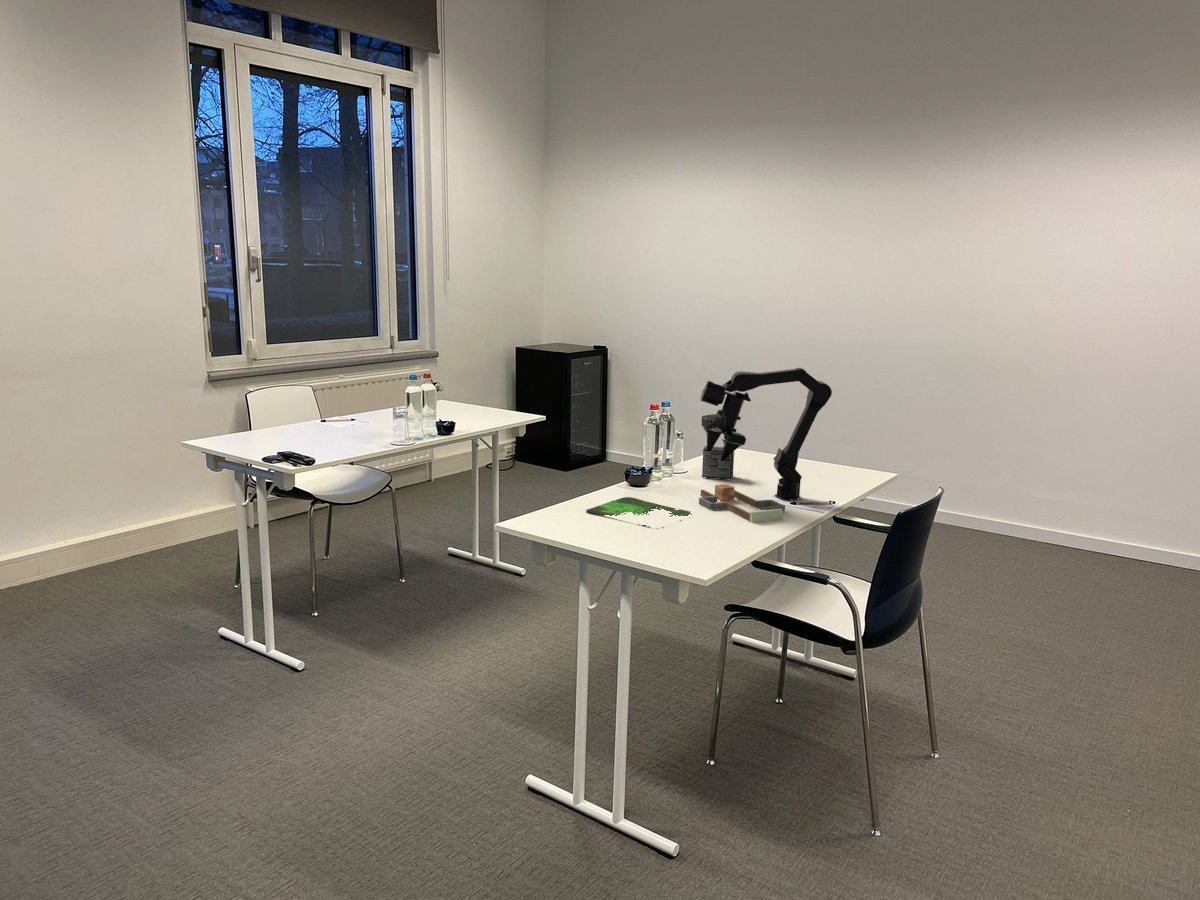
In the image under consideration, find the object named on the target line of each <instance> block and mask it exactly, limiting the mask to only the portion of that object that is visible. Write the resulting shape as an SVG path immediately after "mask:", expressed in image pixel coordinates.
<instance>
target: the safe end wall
mask: <svg viewBox="0 0 1200 900" xmlns="http://www.w3.org/2000/svg"><path fill="white" fill-rule="evenodd" d="M782 512H783V509H772V510H762V509H761V510H753V511H750V512H749V513H750V521H749V522H750V523H757V522H758V523H759V522H768V521H769V522H771V521H777V520H783V513H784V512H783V513H782Z"/></svg>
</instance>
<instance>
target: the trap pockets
mask: <svg viewBox="0 0 1200 900" xmlns="http://www.w3.org/2000/svg"><path fill="white" fill-rule="evenodd" d="M714 499H715V497H714V496H709V497H702V496H700V497H698V505H700V506H702V507H703V506H704V507H703V508H705V507H706V508H705V509H707V510H709V511H711V509H713V511H717V510H716V509H719V510H727V509H726V502H727V501H725V502H721V501H719V502H718V501H717V503H715V502H714ZM758 501H759V506H758V508H757V509H760V510H761V511H762V510H766V509H767V507H771V508H773V509H783V512H782V514H783V513H785V512H786V511H785V510H786V505H785V504H782V503H780V502H778V501H776V500H774V499H762V500H761V499H760V500H759V499H758Z"/></svg>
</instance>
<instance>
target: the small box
mask: <svg viewBox="0 0 1200 900" xmlns="http://www.w3.org/2000/svg"><path fill="white" fill-rule="evenodd" d="M723 447H724V446H723ZM723 447H722V446H714V447H713V448H712V450H711V451H710V452H707V445H705V446H704V447H703V449H702V471H701V478H702V477H706V478H705V479H711V478H719V479H718V480H725V479H732V480H733V477H734V465H735V464H734V463H735V462H734V461H735V460H734V459H735V451H733V452H732V453H731V454H730V455H729V456H728V457H727V458H726V459H725V460H724V461H721V455H722V451H723Z"/></svg>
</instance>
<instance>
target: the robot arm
mask: <svg viewBox="0 0 1200 900" xmlns="http://www.w3.org/2000/svg"><path fill="white" fill-rule="evenodd" d="M795 382H799V383H800V384H801V385H803V386H804V387H806V389H808V391H807V395H806V402H805V406H804V409H803V410H802V413H801V415H800V417H799V420H798V421H797V424H796V425H795V427H794V430H793V431H792V434H791V436H790V438H789V440H788V442H787V444H786V445H785V447H784V448H783V449H782V448H778V449H777V452H776V455H775V457H773V458H772V459H773V460H774V462H773V467H774V469H775V470H776V473H778V474H779V476H780V477H781V478H778V483H777V486H776V487H777V488H776V493H775V495H774V496H775V497H776V496H777V497H776V498H778V497H779V499H781V498H782V499H781V500H783V499H784V500H783V501H785V500H789V501H791V500H790V499H798V498H799V499H800V498H802V499H803V497H802V496H800V495H801V494H800V493H801V480H802V479H803V478H802V475H801V474H800V473H799V472H798V470H797V469H796V467H797V465H798V464H797V463H798V459H799V454H800V450H801V448H802V447H803V444H804V442H805V441H806V438H807V436H808V433H809V432H810V429H812V426H813V424H814V421H815V419H816V417H817V415H818V413H819V412H820V411H821V410H822V409H823V407H825V406H826V404H827V403H828V401H829V400H830V399H831V397H832V395H833V392H832V388H831V386H830V385H828V384H827V383H825V382H823V381H822V380H817V379H815V378H814V377H813V376H811V375H810V374H809V373H808V372H807V370H805V369H804V368H803V367H796V368H791V369H790V368H789V369H783V370H776V371H775V370H774V371H767V372H753V371H737V372H734V373H733V375H731V378H730V379H729V380H727V381H726V382H725V383H723V384H722V385H721V384H717V383H714V382H713V381H712V380H711V381H710V380H707V382H706V384H705V386H704V388H703V389H702V392H701V396H700V402H703V403H706V404H710V405H713V406H716V407H718V406H719V405H722V408H721V409H718V410H717V412H716V414H705V415H702V416H701V426H702V429H703V430H704V431H705V434H706V446H707V452H710V451H711V450H712V448H713V447H715V445H716V443H717V442H718V440H719V438H720V436H721V435H723V439H721V440H722V443H723V451H722V455H721V461H724V460H725V459H726V458H727V457H728V456H729V455H730V454H731V453H732V452H733V451H734V452H735V451H736V450H737V449H738V448H739V447H742V446H745V444H746V442H747V438H746V436H745V435H743V434H742V433H740V432H737V431H738V430H737V428H736V425H737V421H741V419H742V417H741V416H739V415H740V413H741V410H742V407H743V404H744V402H745V401H746V402H751V401H752V400H751V398H750V396H749V393H748V391H750V390H754V389H756V388H759V387H762V386H771V385H776V384H778V385H779V384H786V383H795ZM800 500H801V499H800Z"/></svg>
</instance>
